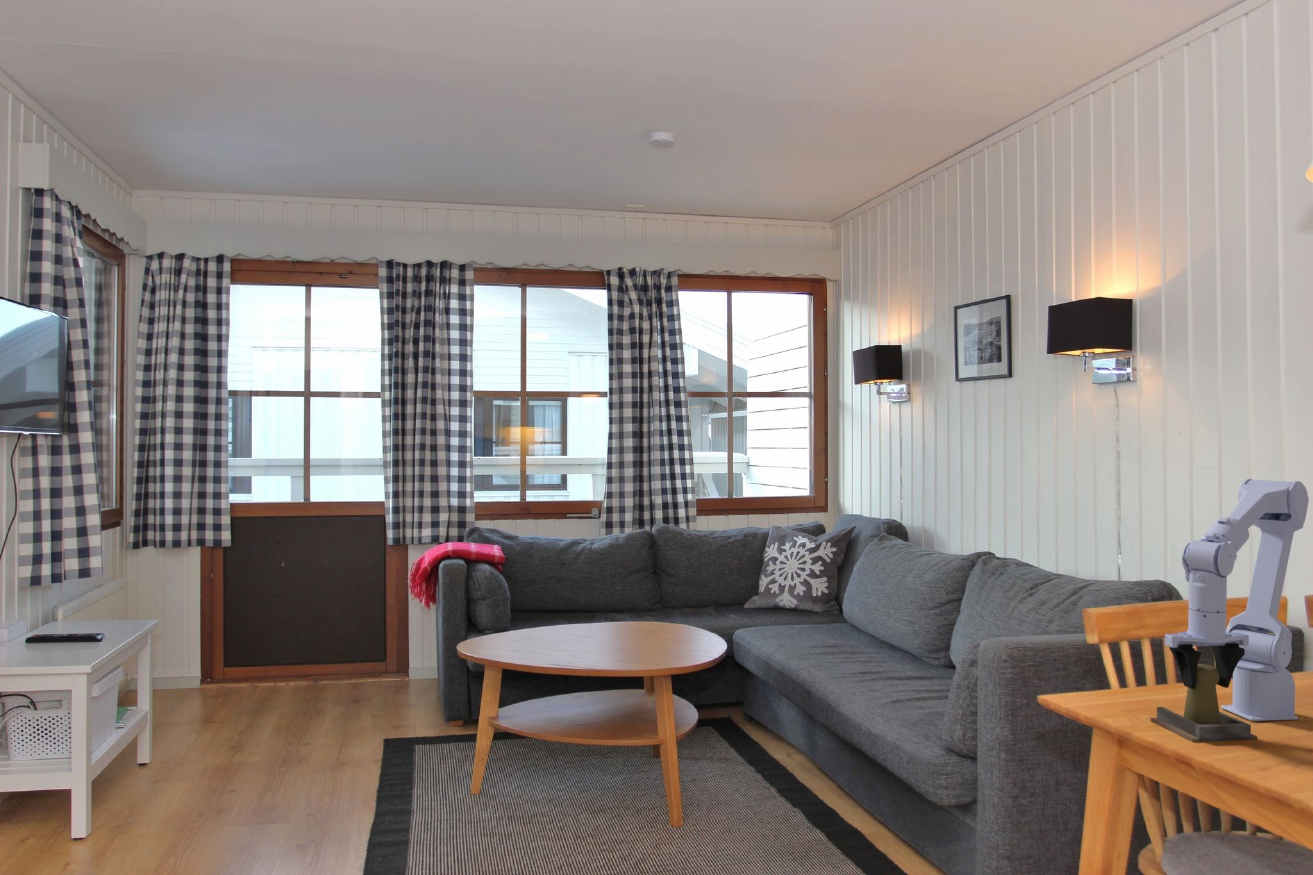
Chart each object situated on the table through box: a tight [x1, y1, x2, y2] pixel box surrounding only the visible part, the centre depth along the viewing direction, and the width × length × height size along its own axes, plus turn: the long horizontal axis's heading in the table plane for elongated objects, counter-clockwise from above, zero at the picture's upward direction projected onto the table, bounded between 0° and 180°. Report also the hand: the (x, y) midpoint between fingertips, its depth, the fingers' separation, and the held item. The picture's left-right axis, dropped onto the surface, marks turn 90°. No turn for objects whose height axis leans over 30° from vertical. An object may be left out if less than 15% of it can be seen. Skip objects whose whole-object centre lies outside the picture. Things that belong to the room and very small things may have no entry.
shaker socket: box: [1149, 706, 1258, 743], centre depth 161 cm, size 12×11×2 cm
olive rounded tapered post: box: [1182, 663, 1221, 725], centre depth 161 cm, size 6×6×11 cm
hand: (1206, 686), depth 160 cm, fingers open, 6 cm apart
